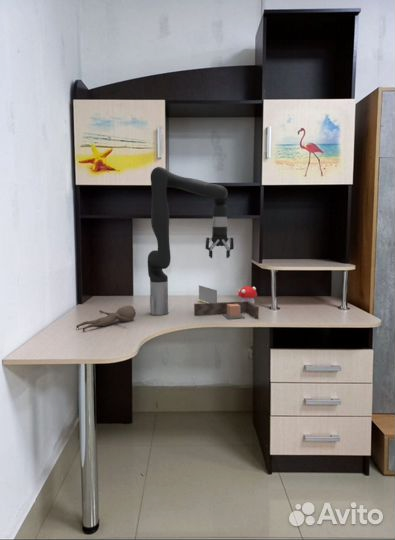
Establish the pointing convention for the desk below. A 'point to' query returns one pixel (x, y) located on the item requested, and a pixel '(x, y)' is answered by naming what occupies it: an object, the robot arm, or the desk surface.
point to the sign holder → (207, 295)
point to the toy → (112, 317)
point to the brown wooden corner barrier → (225, 308)
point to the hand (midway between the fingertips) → (219, 257)
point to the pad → (233, 317)
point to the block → (233, 310)
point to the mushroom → (247, 294)
